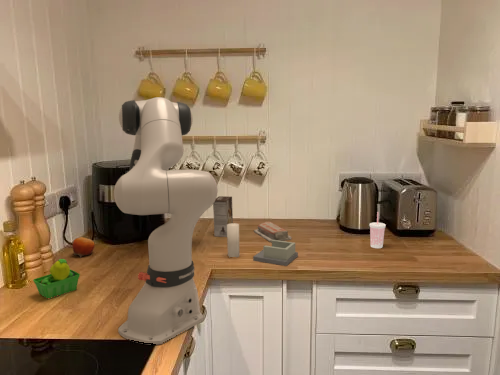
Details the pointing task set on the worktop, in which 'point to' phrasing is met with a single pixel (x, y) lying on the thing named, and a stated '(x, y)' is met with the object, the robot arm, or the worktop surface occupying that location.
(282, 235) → the packaged product
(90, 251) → the fruit
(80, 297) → the worktop surface
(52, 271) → the fruit basket
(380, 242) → the beverage cup
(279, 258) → the cradle jig
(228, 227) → the tall white cylinder
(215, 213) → the coffee box
